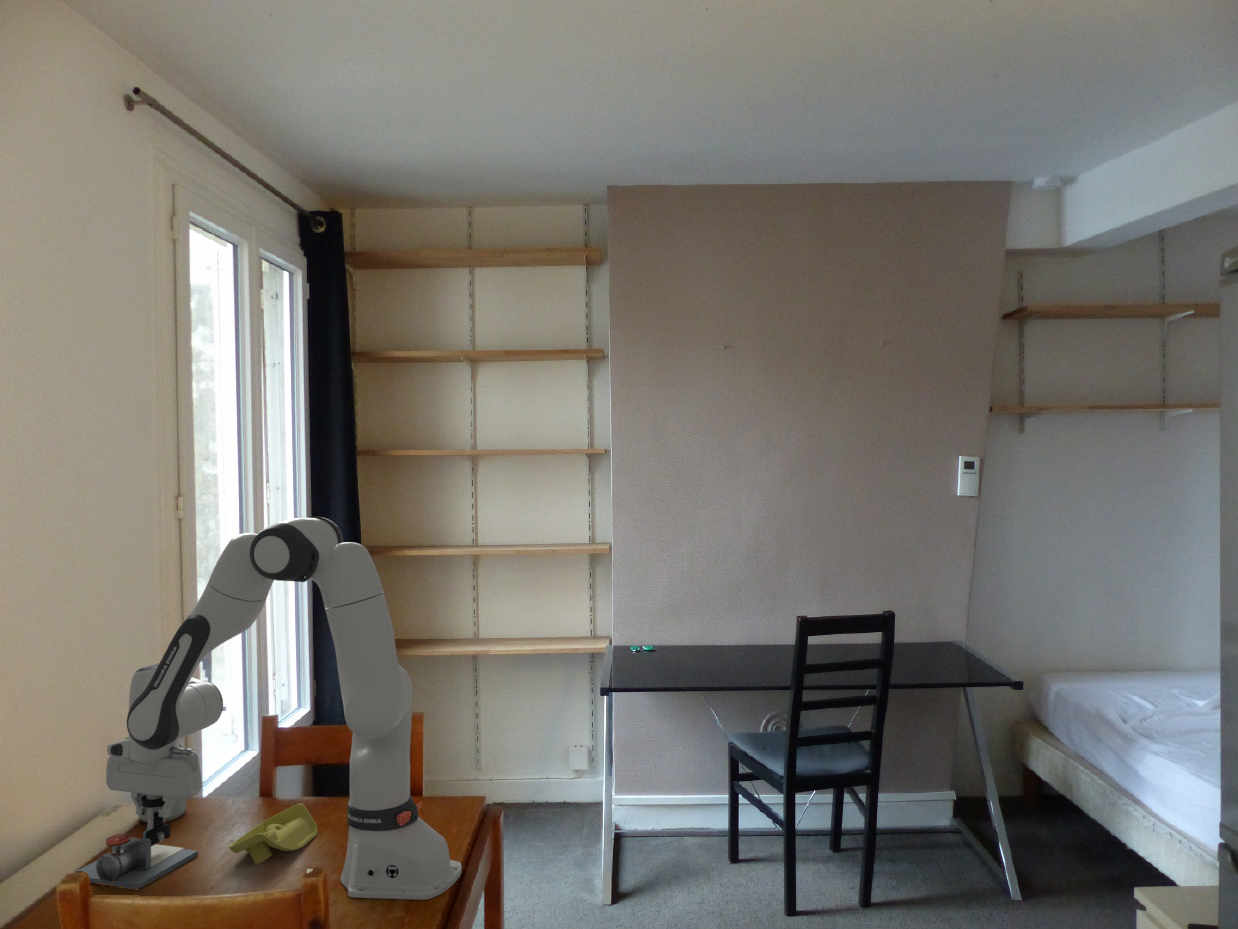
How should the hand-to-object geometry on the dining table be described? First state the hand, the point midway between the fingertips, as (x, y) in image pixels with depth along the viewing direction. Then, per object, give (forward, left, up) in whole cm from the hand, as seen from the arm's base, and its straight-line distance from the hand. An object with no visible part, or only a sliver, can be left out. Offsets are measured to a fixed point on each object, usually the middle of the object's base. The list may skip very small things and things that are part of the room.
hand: (153, 815), depth 171 cm
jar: (+16, -19, -9) cm, 26 cm away
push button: (0, 0, -6) cm, 6 cm away
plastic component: (-19, -10, -9) cm, 24 cm away
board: (+1, +3, -9) cm, 10 cm away
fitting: (0, +8, -8) cm, 11 cm away
